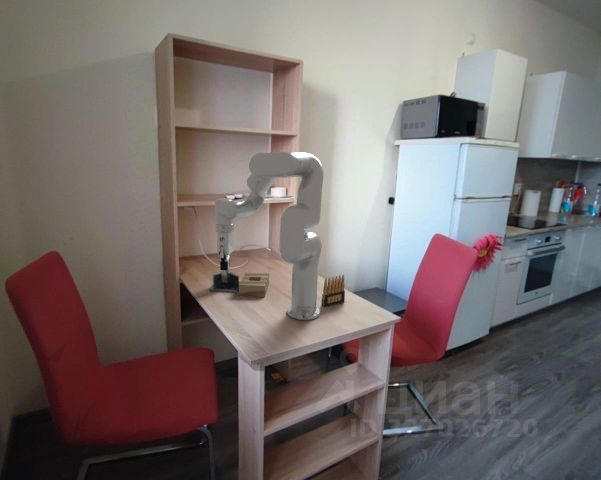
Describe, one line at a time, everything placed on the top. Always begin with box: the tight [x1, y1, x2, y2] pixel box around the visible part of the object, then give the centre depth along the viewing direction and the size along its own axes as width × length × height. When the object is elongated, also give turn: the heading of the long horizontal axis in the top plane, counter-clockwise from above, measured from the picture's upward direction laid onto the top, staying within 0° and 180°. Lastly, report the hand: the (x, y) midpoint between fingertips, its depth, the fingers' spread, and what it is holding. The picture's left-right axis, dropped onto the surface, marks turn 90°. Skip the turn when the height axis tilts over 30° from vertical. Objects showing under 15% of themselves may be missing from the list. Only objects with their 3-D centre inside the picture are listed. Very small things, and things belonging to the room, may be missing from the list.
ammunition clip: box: [320, 274, 346, 308], centre depth 144 cm, size 11×2×12 cm, turn 123°
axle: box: [220, 255, 231, 283], centre depth 156 cm, size 4×4×12 cm
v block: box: [209, 270, 241, 293], centre depth 158 cm, size 12×10×6 cm
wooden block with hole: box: [238, 272, 270, 298], centre depth 157 cm, size 16×11×5 cm
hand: (225, 268), depth 156 cm, fingers closed on axle, 3 cm apart
